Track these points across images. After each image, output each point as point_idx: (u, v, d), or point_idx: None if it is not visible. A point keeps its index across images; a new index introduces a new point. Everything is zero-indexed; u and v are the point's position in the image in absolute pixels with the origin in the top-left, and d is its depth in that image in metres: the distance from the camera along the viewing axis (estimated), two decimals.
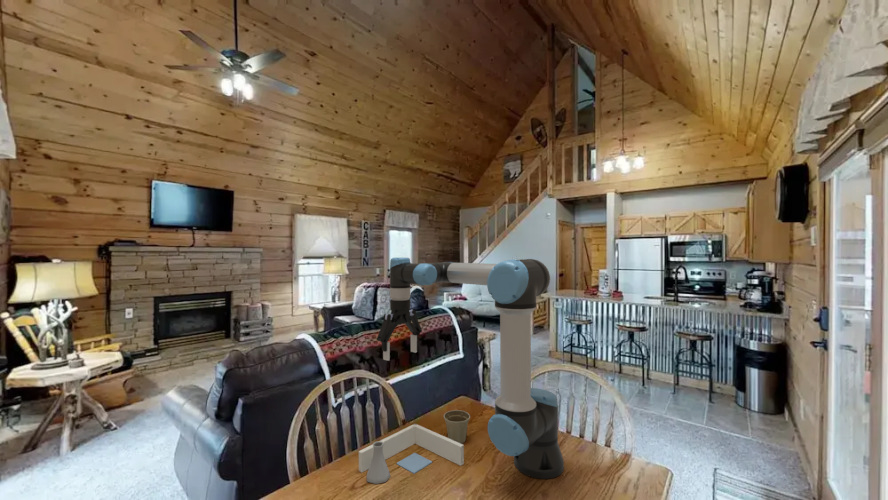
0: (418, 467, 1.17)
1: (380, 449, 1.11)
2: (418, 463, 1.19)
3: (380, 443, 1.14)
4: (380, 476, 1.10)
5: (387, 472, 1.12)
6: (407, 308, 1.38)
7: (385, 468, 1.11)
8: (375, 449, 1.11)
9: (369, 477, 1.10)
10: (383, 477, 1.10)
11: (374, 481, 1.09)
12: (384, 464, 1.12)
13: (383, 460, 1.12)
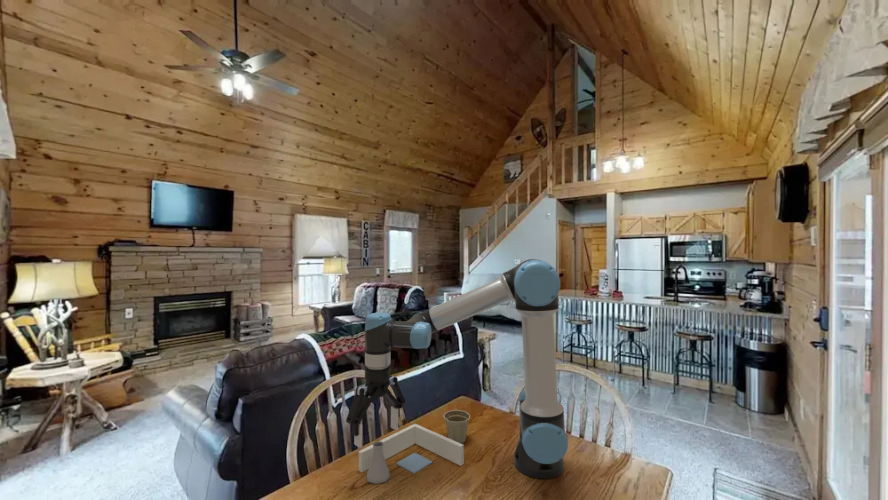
0: (418, 467, 1.17)
1: (380, 449, 1.11)
2: (418, 463, 1.19)
3: (380, 443, 1.14)
4: (380, 476, 1.10)
5: (387, 472, 1.12)
6: (386, 379, 1.10)
7: (385, 468, 1.11)
8: (375, 449, 1.11)
9: (369, 477, 1.10)
10: (383, 477, 1.10)
11: (374, 481, 1.09)
12: (384, 464, 1.12)
13: (383, 460, 1.12)
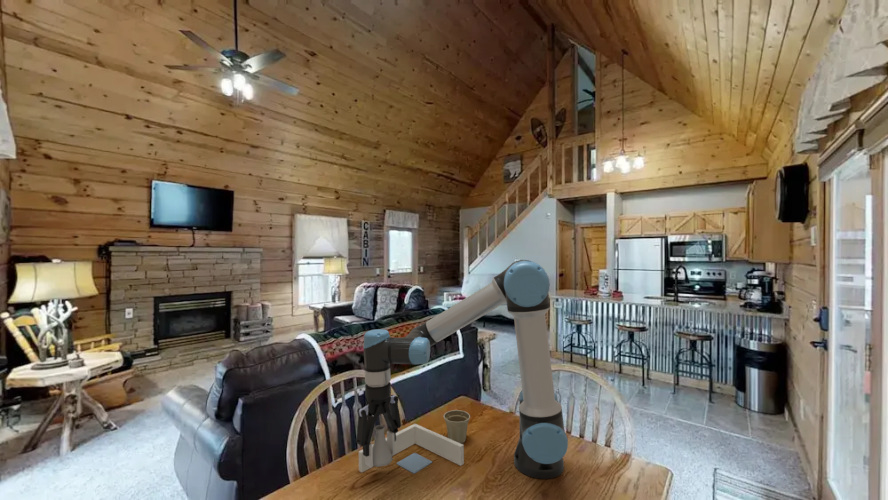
0: (418, 467, 1.17)
1: (382, 432, 1.11)
2: (418, 463, 1.19)
3: (381, 427, 1.13)
4: (383, 459, 1.09)
5: (389, 455, 1.11)
6: (386, 396, 1.10)
7: (387, 451, 1.11)
8: (377, 432, 1.11)
9: None
10: (385, 460, 1.10)
11: (376, 464, 1.09)
12: (386, 447, 1.11)
13: (385, 443, 1.12)
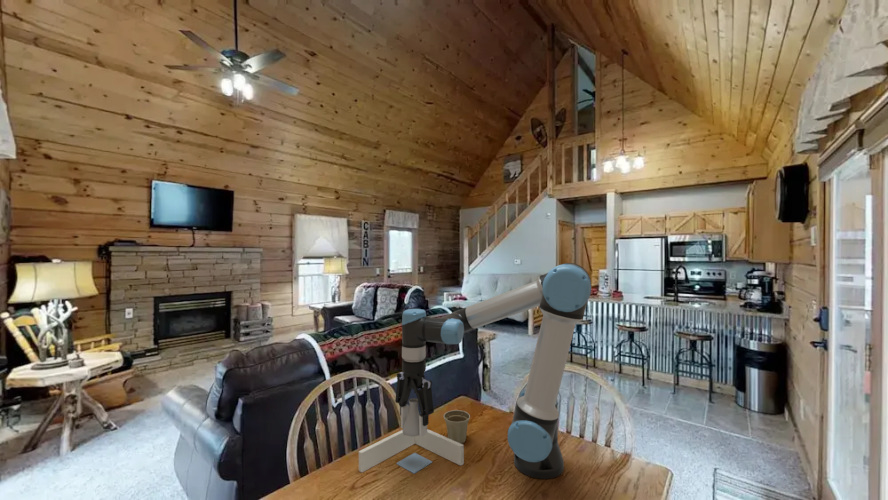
0: (418, 467, 1.17)
1: (410, 405, 1.18)
2: (418, 463, 1.19)
3: None
4: (404, 427, 1.18)
5: (410, 430, 1.17)
6: (405, 371, 1.16)
7: (409, 425, 1.17)
8: None
9: None
10: (404, 429, 1.17)
11: None
12: (410, 421, 1.17)
13: (411, 417, 1.18)
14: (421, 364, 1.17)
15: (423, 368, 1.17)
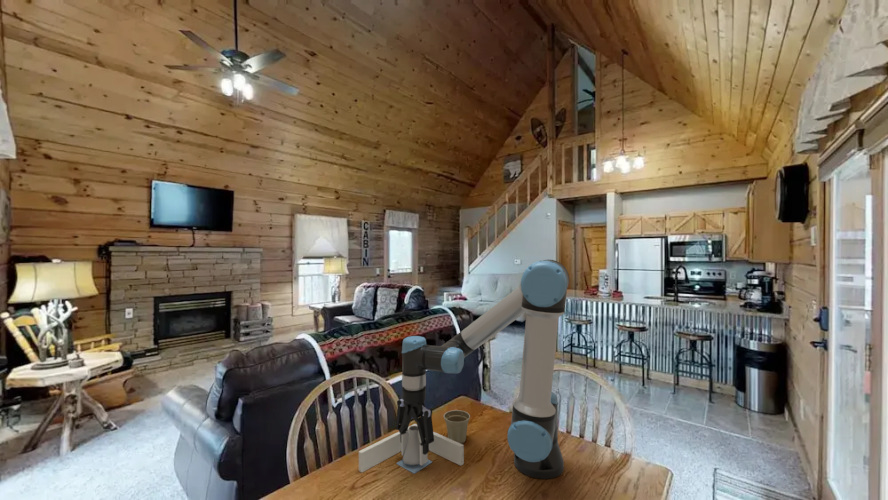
0: (418, 467, 1.17)
1: (410, 432, 1.19)
2: None
3: None
4: (404, 455, 1.18)
5: (410, 458, 1.17)
6: (405, 400, 1.16)
7: (410, 453, 1.17)
8: None
9: None
10: (405, 458, 1.17)
11: None
12: (410, 449, 1.17)
13: (411, 445, 1.18)
14: (421, 392, 1.17)
15: (423, 396, 1.17)
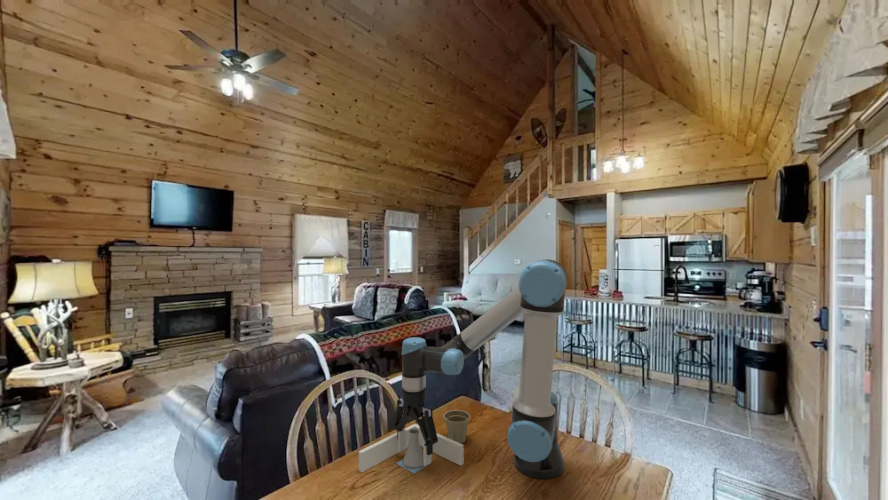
0: (418, 467, 1.17)
1: (410, 436, 1.18)
2: None
3: None
4: (405, 458, 1.18)
5: (410, 461, 1.17)
6: (405, 401, 1.16)
7: (410, 456, 1.17)
8: None
9: None
10: (405, 461, 1.17)
11: None
12: (411, 452, 1.17)
13: (411, 448, 1.18)
14: (421, 394, 1.17)
15: (423, 398, 1.17)
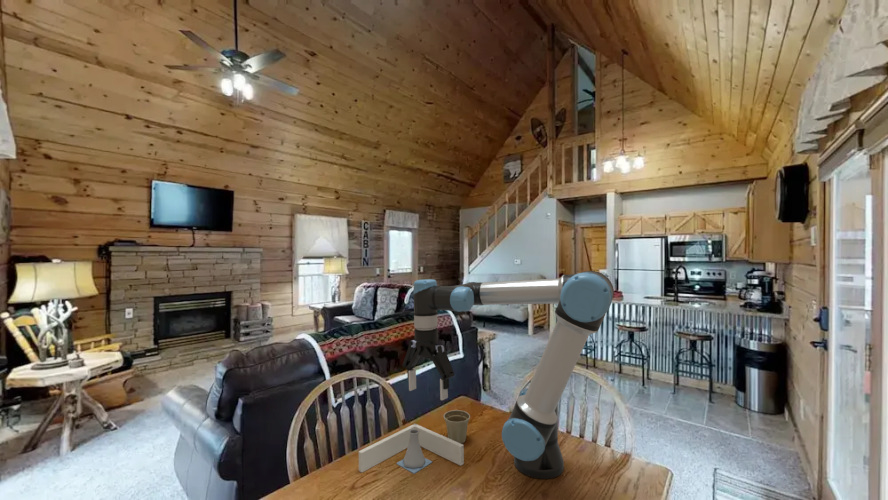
0: (418, 467, 1.17)
1: (410, 436, 1.18)
2: None
3: None
4: (405, 459, 1.18)
5: (410, 461, 1.17)
6: (418, 340, 1.18)
7: (410, 456, 1.17)
8: None
9: None
10: (405, 461, 1.17)
11: None
12: (411, 452, 1.17)
13: (411, 448, 1.18)
14: (434, 332, 1.18)
15: (436, 336, 1.19)
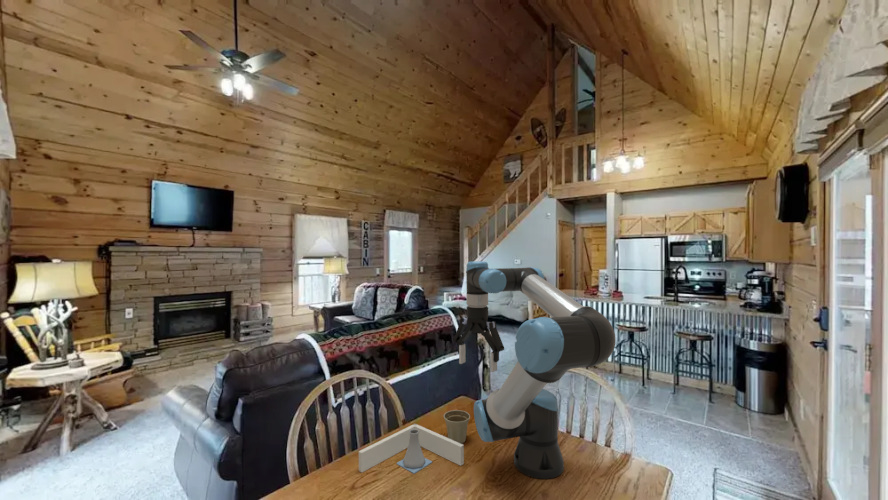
0: (418, 467, 1.17)
1: (410, 436, 1.18)
2: None
3: None
4: (405, 459, 1.18)
5: (410, 461, 1.17)
6: (471, 316, 1.28)
7: (410, 456, 1.17)
8: None
9: None
10: (405, 461, 1.17)
11: None
12: (411, 452, 1.17)
13: (411, 448, 1.18)
14: (485, 309, 1.28)
15: (487, 313, 1.29)
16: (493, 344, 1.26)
